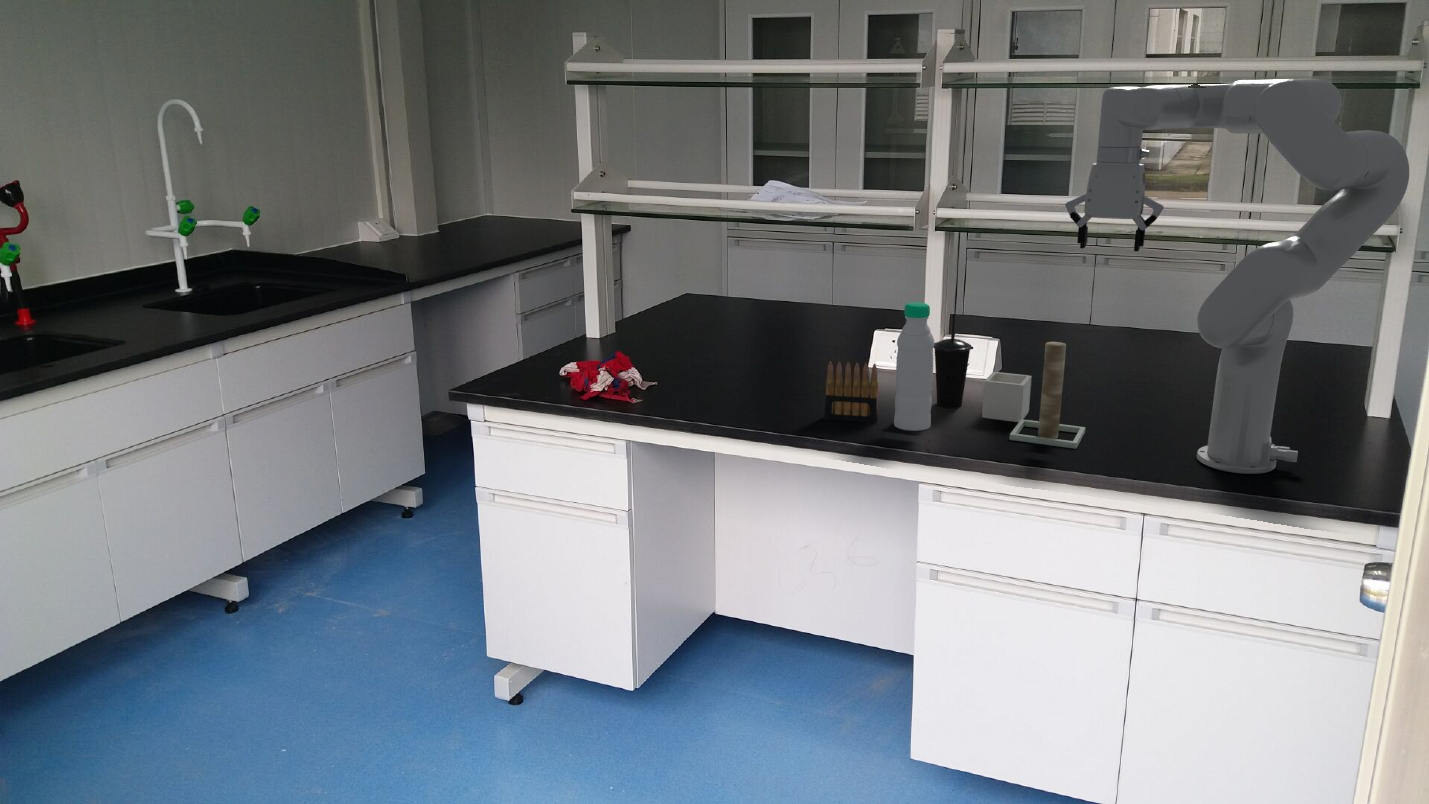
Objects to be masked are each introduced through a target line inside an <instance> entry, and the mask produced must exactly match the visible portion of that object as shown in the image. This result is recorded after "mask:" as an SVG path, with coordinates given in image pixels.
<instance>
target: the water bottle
mask: <svg viewBox="0 0 1429 804" xmlns="http://www.w3.org/2000/svg"><path fill="white" fill-rule="evenodd" d="M903 312H904V318H905V320H906V321H905V324H904V325H903V327H902V329H901V332H900V334H899V335H898V337H897V340H896V346H897V353H896V363H895V365H896V367H895V369H896V370H895V392H896V393H895V397H894V408H895V409H894V410H895V411H894V412H895V413H894V417H893V418H894V419H893V425H894V427H896V428H898V429H900V430H904V431H914V432H915V431H917V432H919V431H924V430H928V429H930V428H931V425H932V422H931V421H932V419H931V418H932V415H931V414H932V413H931V411H932V410H931V409H932V403H933V401H932V400H933V399H932V388H933V378H934V343H936V342H935V339H934V336H933V333H932V332H931V328H930V326H929V325H928V319H930V315H931V314H930V313H931V308H930V305H929V304H927V303H924V302H909V303H907V304H905V306H904V310H903Z"/></svg>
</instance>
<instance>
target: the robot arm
mask: <svg viewBox="0 0 1429 804" xmlns="http://www.w3.org/2000/svg"><path fill="white" fill-rule="evenodd" d="M1191 85H1192V84H1165V85H1148V86H1142V87H1139V86H1113V87H1108V88H1106V89H1105V90H1104V92H1103V93H1102V97H1101V109H1100V120H1099V130H1098V132H1099V133H1098V139H1097V140H1098V141H1097V152H1096V162H1095V163H1092V165H1091V169H1090V172H1089V176H1088V181H1087V186H1086V192H1085V193H1084V194H1082V195H1081V196H1078V197H1076V198H1074V199H1072V200H1069V201H1067V202H1066V203H1065V204H1064V205H1065V208H1066V210H1067V212H1068V215H1069V218H1070V219H1071V220H1072V221H1073V222H1074V224H1075V225H1076V226H1077V228H1078V231H1077V240H1076V241H1077V244H1079V248H1080V249H1085V248H1086V247H1087V244H1088V243H1087V242H1088V232H1089V231H1088V230H1089V226H1088V222H1089V221H1090V220H1091V219H1111V220H1112V219H1113V220H1115V219H1117V220H1132V221H1133V223H1135V224H1136V226H1137V229H1136V230H1135V236H1134V244H1133V251H1134V252H1139V251H1140V250H1141V249H1140V248H1141V247H1144V245H1145V234H1146V229H1147V228H1149V226H1151V225H1152V224H1153V223H1154V222H1155V221H1156V220H1157V219H1158V218H1159V216H1160V215H1161V213H1162V212H1163V210H1164V208H1165V207H1164V205H1163V204H1161V203H1159V202H1157V201H1155V200H1153V199H1152V198H1150V197H1148V196H1146V195H1145V191H1146V172H1145V164H1144V163H1140V162H1141V160H1144V159H1149V156H1150V150H1146V149H1144V148H1143V147H1142V144H1143V143H1142V141H1143V132H1144V131H1145V130H1146V131H1157V130H1170V129H1173V130H1174V129H1225V130H1226V131H1227V132H1229V133H1231V134H1240V135H1241V134H1249V135H1250V134H1254V135H1255V134H1256V135H1257V134H1258V135H1259V134H1260V135H1261V134H1262V135H1264V136H1265V137H1266V139H1267V140H1268V141H1269V143H1270V144H1271V145H1272V146H1273V147H1274V148H1275V149H1276V151H1278V153H1279V154H1280V155H1281V156H1282V157H1283V158H1284V159H1285V160H1286V161H1287V162H1288V164H1289V165H1290V166H1292V168H1293V169H1294V170H1295V171H1296V173H1297V174H1298V175H1299V176H1300V177H1301V178H1302V179H1303V180H1305V181H1306V182H1307V183H1308V184H1310V185H1311V186H1313V187H1315V188H1317V189H1319V190H1323V191H1331V192H1333V191H1338V192H1337V193H1336V194H1335V195H1333V197H1332V198H1330V199H1329V200H1328V201H1327V202H1325V203H1324V204H1323V205H1322V206H1321V207H1319V209H1317V210H1316V211H1315V212H1314V213H1313V215H1312V216H1311V217H1310V218H1309V219H1308V220H1307V221H1306V223H1304V224H1303V225H1302V227H1301V228H1299V229H1298V230H1297V231H1296V232H1295V233H1294V234H1292V235H1291V236H1289V237H1288V238H1285V239H1282V240H1278V241H1273V242H1268V243H1266V244H1263V245H1260V246H1258V247H1256V248H1255V249H1253V250H1252V251H1250V252H1249V253H1248V254H1247V255H1245V256H1244V257H1243V259H1241V260H1240V261H1239V262H1238V264H1236V265H1235V266H1234V268H1233V269H1232V270H1231V271H1230V272H1229V273H1228V274H1227V276H1225V278H1224V279H1223V280H1222V281H1221V282H1220V283H1219V284H1218V285H1217V286H1216V287H1215V288H1214V290H1212V292H1210V294H1209V295H1208V296H1207V298H1205V300H1204V301H1203V303H1202V304H1201V306H1200V308H1199V309H1198V310H1199V311H1198V312H1197V318H1196V319H1197V321H1196V323H1197V325H1196V326H1197V331H1198V333H1199V335H1200V336H1201V338H1202V339H1203V340H1204V341H1205V342H1206V343H1207V344H1208V345H1211V346H1212V347H1215V348H1218V349H1222V350H1221V352H1220V357H1219V361H1218V365H1217V371H1216V372H1217V373H1216V379H1215V384H1214V385H1215V386H1214V393H1213V404H1212V408H1211V409H1212V410H1211V416H1210V425H1209V433H1208V440H1207V445H1204V446H1202V447H1200V448H1198V450H1197V451H1196V459H1197V460H1198V461H1199V462H1200V463H1202V464H1203V465H1204V466H1207V467H1210V468H1212V469H1215V470H1219V471H1223V472H1229V473H1232V474H1233V473H1235V474H1245V475H1247V474H1248V475H1257V474H1258V475H1259V474H1265V473H1269V472H1271V471H1273V470H1274V469H1276V466H1277V460H1282V461H1285V462H1292V463H1297V460H1298V455H1299V452H1298V450H1291V448H1290V447H1289V446H1279V445H1275V444H1274V443H1272V437H1271V433H1272V427H1273V425H1272V424H1273V417H1274V411H1275V404H1276V398H1277V397H1276V396H1277V391H1278V385H1279V381H1280V380H1279V379H1280V371H1281V365H1282V361H1283V356H1284V352H1285V348H1286V345H1287V341H1288V338H1289V336H1290V332H1291V330H1292V327H1293V322H1294V307H1293V303H1292V301H1291V300H1294V299H1295V300H1296V299H1299V298H1301V297H1303V298H1304V297H1305V296H1309V295H1311V294H1314V293H1316V292H1318V291H1319V290H1320V289H1321V288H1322V287H1323V286H1325V284H1327V283H1328V282H1329V280H1330V279H1331V278H1333V276H1334V275H1335V274H1336V273H1337V272H1338V271H1339V270H1340V269H1341V268H1342V267H1343V266H1344V265H1345V264H1346V263H1348V261H1349V260H1350V259H1351V258H1352V257H1353V256H1354V255H1355V254H1356V253H1357V252H1358V251H1359V249H1360V248H1361V247H1362V246H1363V245H1364V244H1365V243H1366V242H1367V241H1368V240H1369V239H1370V238H1372V236H1373V235H1375V234H1376V233H1377V231H1378V230H1379V229H1380V228H1381V227H1382V226H1383V225H1384V224H1385V223H1387V221H1388V220H1389V219H1390V218H1391V217H1392V215H1393V214H1394V213H1395V211H1397V209H1398V207H1399V206H1400V204H1401V203H1402V201H1403V199H1404V197H1405V194H1406V192H1407V189H1408V187H1409V186H1408V185H1409V181H1410V180H1409V179H1410V162H1409V159H1408V155H1407V153H1406V151H1405V149H1404V147H1403V145H1402V143H1400V141H1399V140H1397V138H1395V137H1394V136H1393V135H1390V134H1388V133H1386V132H1383V131H1379V130H1370V129H1369V130H1367V129H1364V130H1351V131H1345V130H1343V129H1342V128H1341V127H1340V126H1339V125H1338V124H1337V123H1336V122H1335V121H1336V120H1337V119H1338V117H1339V116H1340V114H1341V110H1342V107H1343V99H1342V95H1341V92H1340V91H1339V89H1338V88H1337V86H1335V85H1334V84H1333V83H1332V82H1330V81H1327V80H1324V79H1321V78H1285V79H1283V78H1280V79H1241V80H1236V81H1234V82H1232V83H1221V84H1219V83H1217V84H1199V85H1200V86H1203V87H1206V88H1188V86H1191ZM1082 203H1084V210H1083V211H1084V215H1083V216H1081V215H1080V214H1079V212H1077V210H1076V206H1079V205H1081V204H1082ZM1144 205H1145V206H1147V207H1148V208H1150V209H1152V210H1153V211H1152V213H1151V215H1149V217H1148V218H1146V219H1145V218H1144V217H1143V216H1142V215H1143V212H1144V207H1145V206H1144Z"/></svg>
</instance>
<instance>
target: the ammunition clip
mask: <svg viewBox="0 0 1429 804" xmlns="http://www.w3.org/2000/svg"><path fill="white" fill-rule="evenodd" d="M827 365H828V366H827V373H826V374H827V375H826V381H825V402H824V415H823V417H824V418H823V419H824V420H829V421H844V422H858V423H859V422H860V423H874V424H876V423H878V421H879V404H878V402H879V399H878V398H879V382H878V367H877V365H876V363H873V365H872V368H871V374H870V375H871V376H870V379H869V367H868V363H866V362H865V363H864V366H863V367H862V375H861V373H860V372H861V371H860V370H861V369H860V366H859V362H856V363H855V365H854V370H853V376H852V369H851V364H850V362H849V361H847V363H846V366H845V368H844V369H845V371H844V381H843V368H842V363H841V361H838V363H837V365H836V368H835V369H836V370H835V374H836V375H835V379H834V368H833V367H834V366H833V363H832V361H831V360H830V361H829V363H828V364H827ZM860 375H861V376H862V377H861V376H860ZM852 377H853V378H852ZM869 380H870V381H869Z"/></svg>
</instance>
